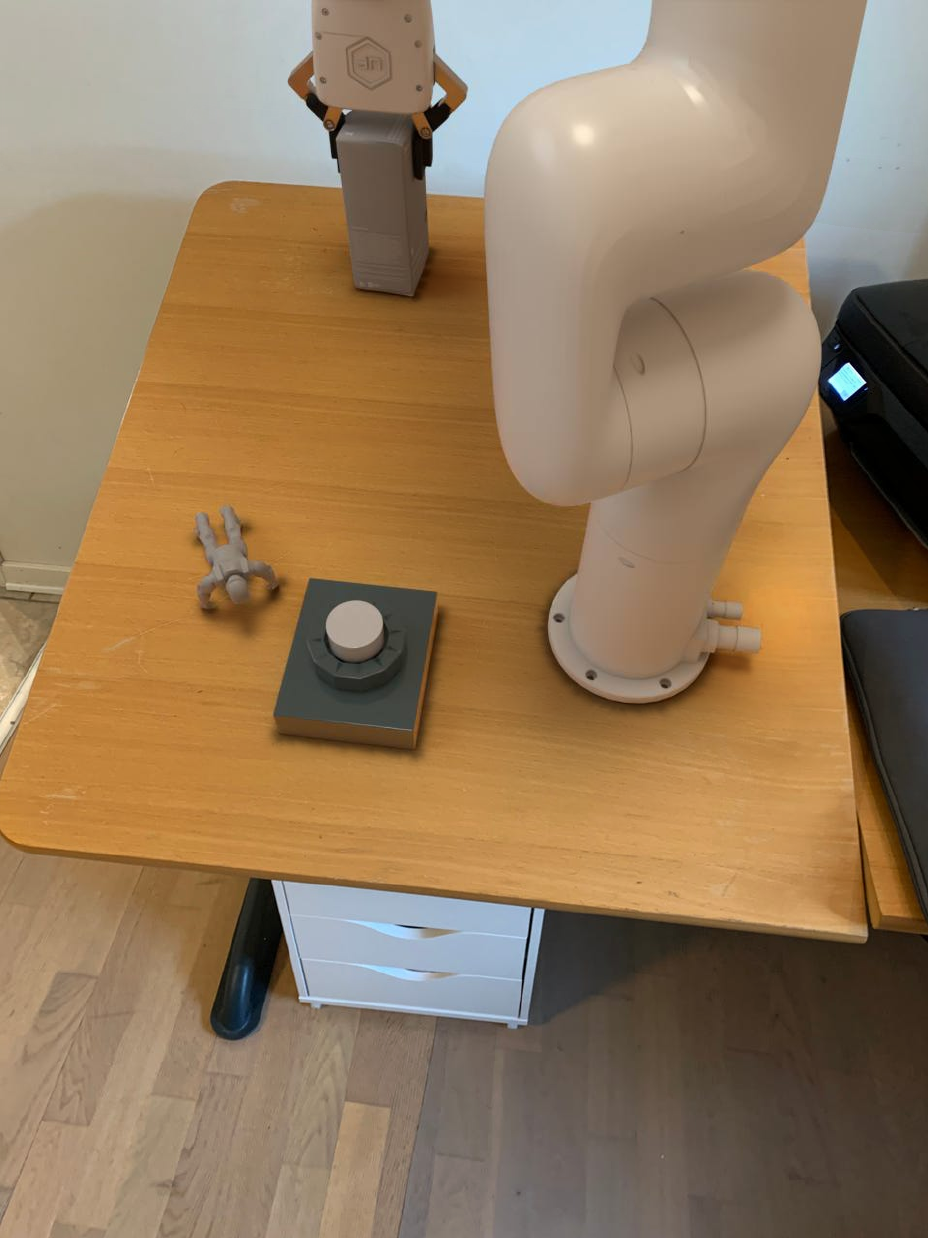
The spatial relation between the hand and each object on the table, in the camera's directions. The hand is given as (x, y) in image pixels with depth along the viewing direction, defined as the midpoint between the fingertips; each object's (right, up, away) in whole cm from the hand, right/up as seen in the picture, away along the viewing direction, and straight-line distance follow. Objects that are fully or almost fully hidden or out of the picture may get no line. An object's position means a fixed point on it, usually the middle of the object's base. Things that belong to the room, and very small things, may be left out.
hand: (382, 166), depth 88 cm
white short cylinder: (0, -44, -21) cm, 49 cm away
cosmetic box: (0, -6, +9) cm, 11 cm away
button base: (0, -47, -17) cm, 50 cm away
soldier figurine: (-11, -39, -12) cm, 43 cm away
